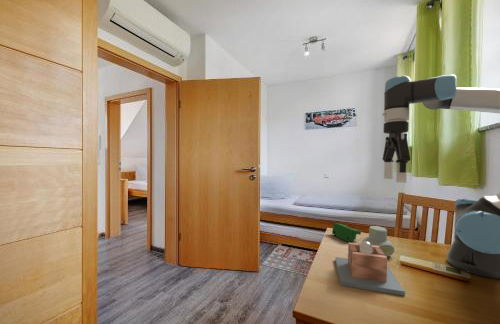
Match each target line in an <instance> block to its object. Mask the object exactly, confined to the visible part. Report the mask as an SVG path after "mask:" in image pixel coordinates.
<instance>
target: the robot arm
mask: <svg viewBox="0 0 500 324" xmlns="http://www.w3.org/2000/svg"><path fill="white" fill-rule="evenodd" d="M384 84H385V85H384V92H383V94H384V95H383V96H384V102H383V103H384V108H383V113H382V116H383V122H384V123H383V133H384V134H388V136H386V137H385V143H384V147H383V148H384V150H383V154H382V161H383V162H384V167H383V168H384V169H383V179H385V180H392V179H393V172H394V171H393V168H394V165H393V164H394V162H395V163H396V173H395V174H396V178H395V182H396V183H404V184H405V183H407V176H408V174H407V170H408V162H410V161H411V155H410V154H411V153H410V149H409V143H408V134H407V133H408V132H409V127H410V126H409V124H410V123H409V122H408V121H409V120H410V104H418V103H419V104H420V103H422V105H423V106H424V108H426V109H429V110H433V111H436V110H454V111H455V110H456V111H467V112H480V113H490V114H491V113H492V114H500V88H487V87H485V88H484V87H479V88H478V87H457V75H456V74H446V75H439V76H435V77H429V78H422V79H419V80H414V81H413V80H412V81H411V78H410V76H407V75H402V76H394V77H391V78H389V79H388V80H386V82H385V83H384ZM394 156H396V160H395V161H394ZM454 208H455V209H454V211H455V212H454V226H453V227H454V233H453V234H454V237H453V242H452V243H451V246H450V247H449V250H448V251H447V253H446V261H447V263H449V264H450V265H451V266H453V267H455V268H457V269H460V270H461V269H462V271H464V270H466V271H465V272H467V271H469V272H468V273H469V274H470V273H471V274H473V275H478V276H481V277H485V278H491V279H498V280H499V279H500V191H499V192H497V193H496V194H494V195H483V196H482V197H480V198H478V199H471V198H470V199H469V198H457V199H455V204H454Z"/></svg>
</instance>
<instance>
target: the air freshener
mask: <svg viewBox="0 0 500 324" xmlns="http://www.w3.org/2000/svg"><path fill="white" fill-rule="evenodd" d="M368 232H369V233H368V236H366V237H364V238H363V239H362V240H361V242H363V241H368V242H369V243H370V244H371V245H375V246H379V247H380V249H381V250H382V251H383V253H384V254H385V256H386V257H387V258H388V257H390V256H391V255H393V254H394V253H395V249H396V248H395V246H394V245H393V243H392V242H391V241H390V240H388V238H387V237H388V230H387V228H386V227H383V226H378V225H370V226H369V229H368Z"/></svg>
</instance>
